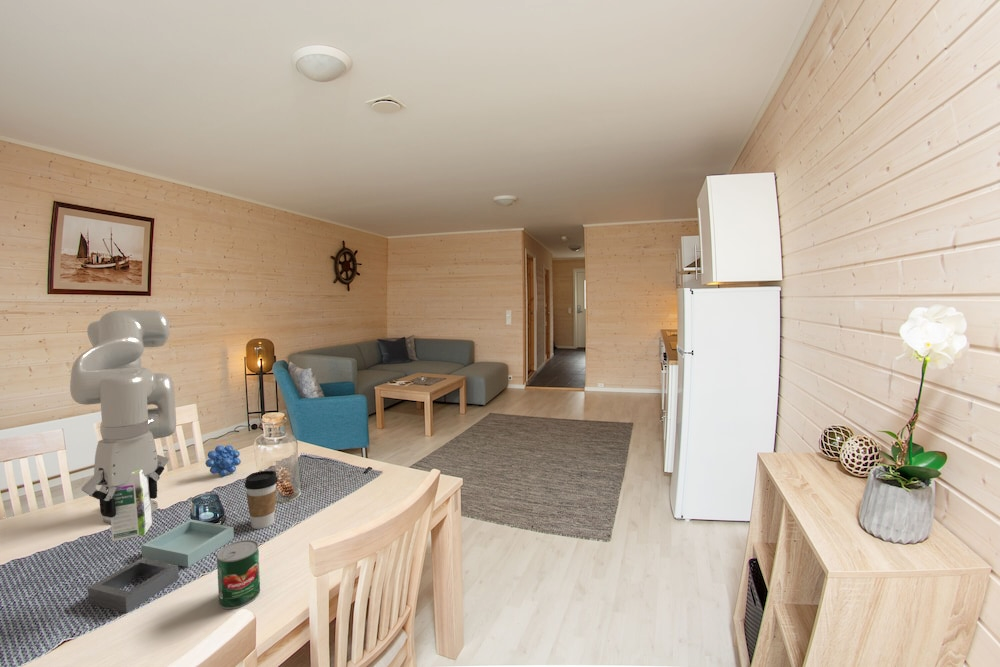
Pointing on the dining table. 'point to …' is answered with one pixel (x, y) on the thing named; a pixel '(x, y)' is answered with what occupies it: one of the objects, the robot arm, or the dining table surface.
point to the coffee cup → (261, 498)
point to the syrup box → (132, 508)
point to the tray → (187, 543)
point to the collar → (125, 601)
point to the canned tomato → (238, 574)
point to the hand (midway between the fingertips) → (130, 506)
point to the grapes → (223, 460)
